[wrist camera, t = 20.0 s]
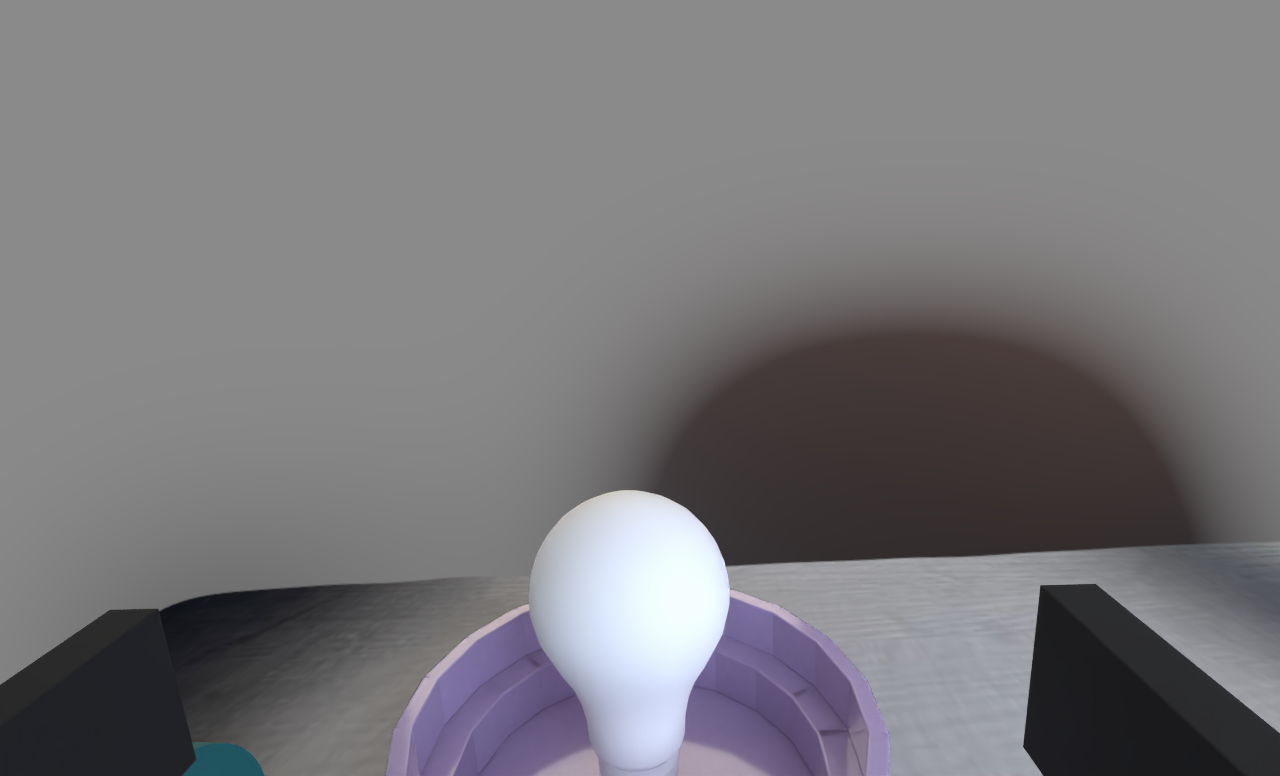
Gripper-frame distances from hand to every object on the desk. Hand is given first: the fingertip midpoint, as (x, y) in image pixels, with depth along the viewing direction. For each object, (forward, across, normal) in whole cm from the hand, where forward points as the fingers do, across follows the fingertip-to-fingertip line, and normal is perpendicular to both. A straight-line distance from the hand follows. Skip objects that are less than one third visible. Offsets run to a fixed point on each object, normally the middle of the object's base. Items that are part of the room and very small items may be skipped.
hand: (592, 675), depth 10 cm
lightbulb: (+9, 0, -12) cm, 16 cm away
